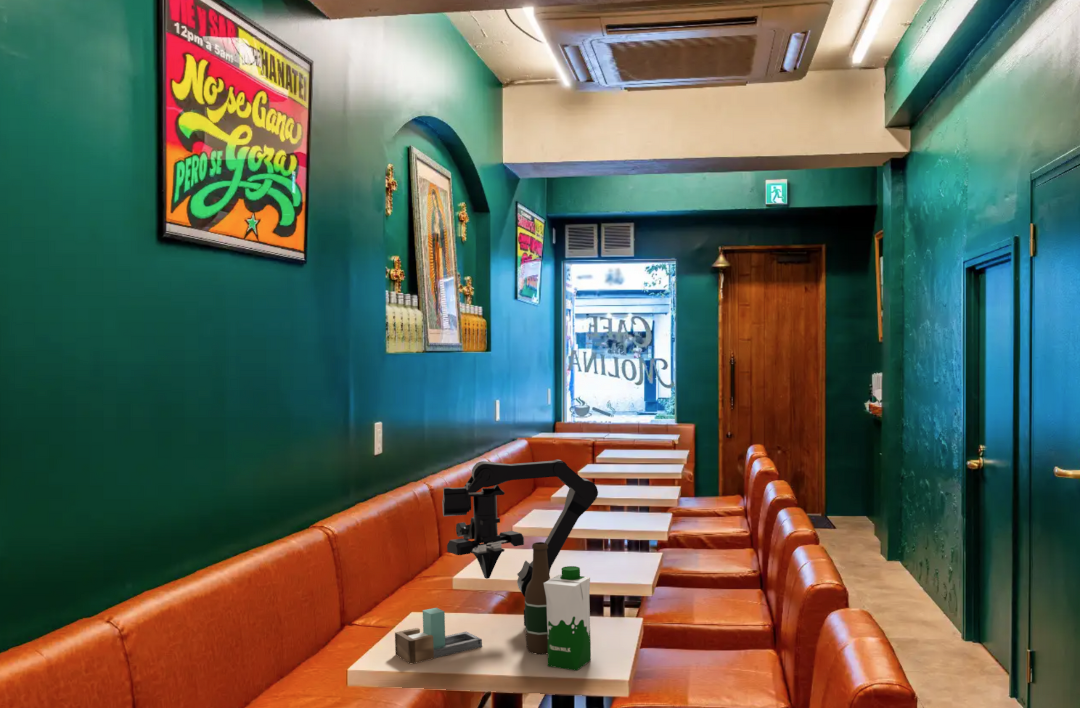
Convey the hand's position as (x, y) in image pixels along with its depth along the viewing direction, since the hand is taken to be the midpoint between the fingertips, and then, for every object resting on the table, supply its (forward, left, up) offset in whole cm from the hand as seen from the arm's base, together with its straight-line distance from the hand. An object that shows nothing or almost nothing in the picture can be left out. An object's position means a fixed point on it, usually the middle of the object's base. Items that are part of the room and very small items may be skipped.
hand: (487, 578), depth 213 cm
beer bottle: (-15, +12, -13) cm, 23 cm away
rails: (+6, +12, -13) cm, 19 cm away
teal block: (+11, +17, -13) cm, 24 cm away
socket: (+13, +19, -13) cm, 26 cm away
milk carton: (-22, +21, -13) cm, 33 cm away
